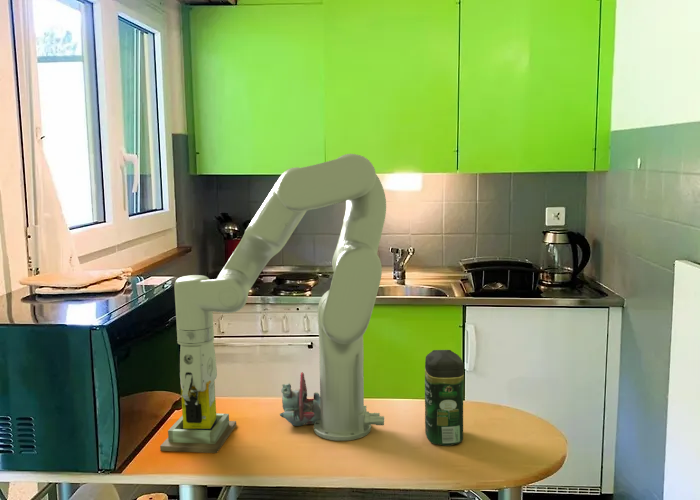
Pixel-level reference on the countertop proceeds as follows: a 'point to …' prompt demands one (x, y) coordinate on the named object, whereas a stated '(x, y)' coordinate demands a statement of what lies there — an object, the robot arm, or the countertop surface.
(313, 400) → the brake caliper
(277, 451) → the countertop surface
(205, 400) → the supplement box
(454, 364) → the coffee jar
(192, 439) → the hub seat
